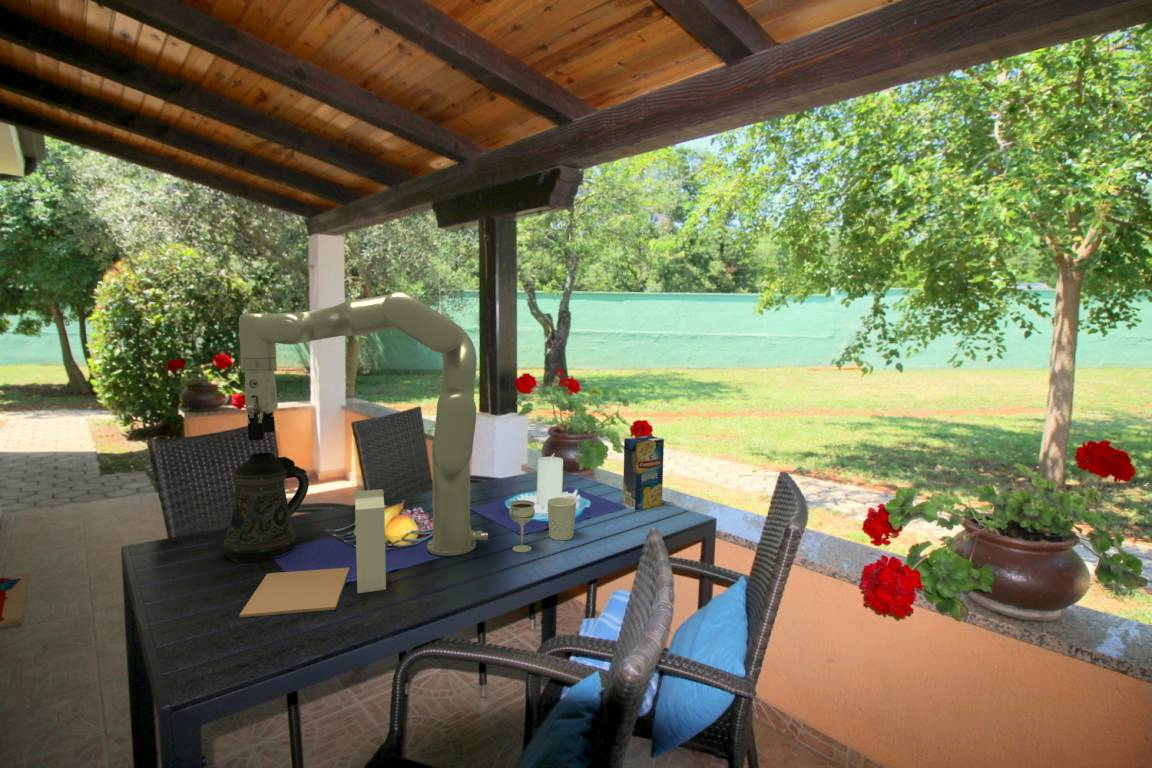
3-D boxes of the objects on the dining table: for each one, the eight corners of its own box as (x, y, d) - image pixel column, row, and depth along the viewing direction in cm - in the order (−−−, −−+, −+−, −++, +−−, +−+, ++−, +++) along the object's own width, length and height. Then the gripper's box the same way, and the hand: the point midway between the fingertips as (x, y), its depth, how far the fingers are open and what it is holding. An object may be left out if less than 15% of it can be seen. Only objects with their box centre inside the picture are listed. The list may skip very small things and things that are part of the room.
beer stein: (208, 558, 149) (203, 459, 147) (269, 532, 168) (265, 444, 165) (261, 567, 144) (257, 465, 142) (318, 539, 163) (315, 448, 160)
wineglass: (506, 545, 161) (506, 501, 159) (530, 542, 163) (530, 499, 162) (512, 554, 154) (512, 509, 153) (538, 551, 157) (538, 506, 155)
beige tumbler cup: (579, 539, 166) (580, 504, 165) (552, 542, 163) (553, 506, 162) (569, 530, 173) (570, 496, 172) (543, 533, 170) (543, 498, 169)
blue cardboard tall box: (662, 505, 197) (664, 439, 195) (635, 510, 192) (637, 442, 189) (648, 499, 203) (650, 435, 201) (622, 504, 197) (624, 438, 195)
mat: (349, 569, 144) (349, 567, 144) (335, 609, 124) (335, 606, 124) (267, 575, 140) (267, 573, 140) (239, 617, 120) (239, 614, 120)
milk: (357, 582, 137) (354, 487, 135) (385, 579, 139) (382, 485, 137) (357, 594, 131) (354, 495, 129) (386, 589, 133) (384, 492, 131)
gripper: (266, 368, 136) (269, 442, 138) (284, 362, 153) (287, 429, 155) (229, 368, 134) (233, 443, 136) (252, 362, 151) (255, 430, 153)
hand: (262, 436), depth 145 cm, fingers open, 9 cm apart
